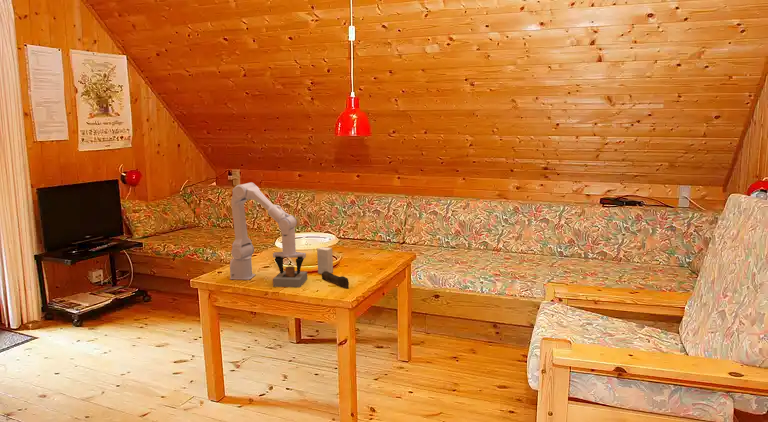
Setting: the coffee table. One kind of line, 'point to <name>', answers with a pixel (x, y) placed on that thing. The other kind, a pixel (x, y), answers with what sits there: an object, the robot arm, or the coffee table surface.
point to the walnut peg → (290, 271)
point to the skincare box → (325, 260)
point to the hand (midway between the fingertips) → (290, 273)
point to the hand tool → (336, 279)
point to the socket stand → (289, 280)
